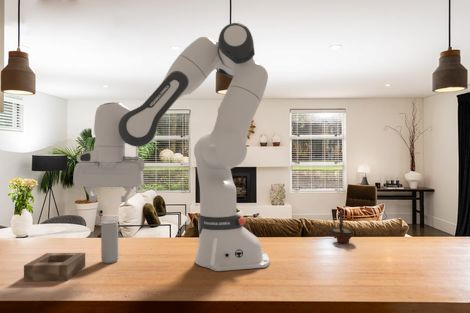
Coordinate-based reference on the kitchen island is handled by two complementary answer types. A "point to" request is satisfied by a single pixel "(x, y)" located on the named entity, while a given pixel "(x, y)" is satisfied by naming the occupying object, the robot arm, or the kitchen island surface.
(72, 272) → the walnut holder
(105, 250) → the beverage can
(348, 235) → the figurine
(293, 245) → the kitchen island surface
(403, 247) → the kitchen island surface
